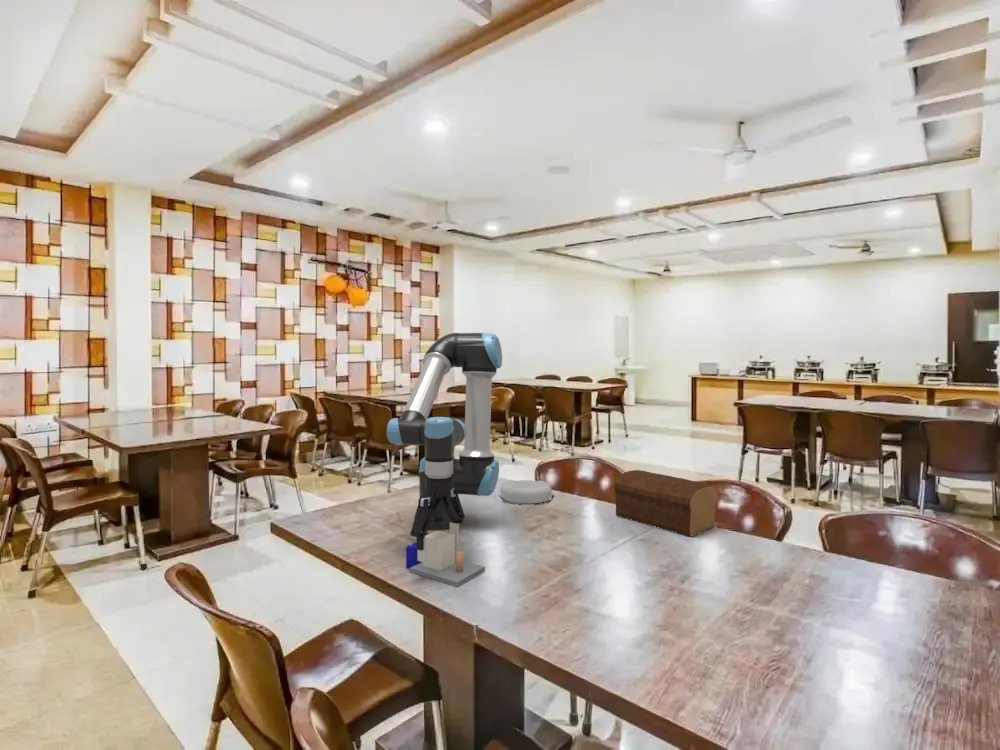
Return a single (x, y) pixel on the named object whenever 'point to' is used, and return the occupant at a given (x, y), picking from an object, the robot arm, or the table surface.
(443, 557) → the cream rectangular block
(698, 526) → the bread
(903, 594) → the table surface
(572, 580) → the table surface
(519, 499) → the round ceiling alarm
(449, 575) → the board
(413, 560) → the blue arched piece
